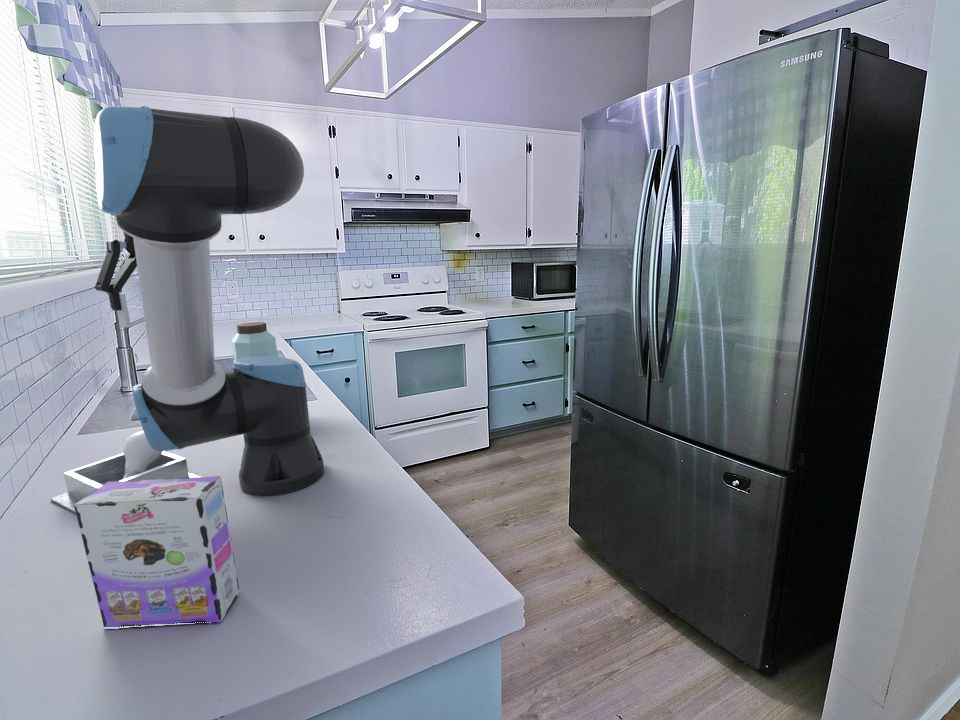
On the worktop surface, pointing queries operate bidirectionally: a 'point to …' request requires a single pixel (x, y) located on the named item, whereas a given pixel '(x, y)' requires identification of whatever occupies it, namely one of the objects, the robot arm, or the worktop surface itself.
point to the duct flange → (116, 476)
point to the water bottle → (253, 341)
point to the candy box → (159, 551)
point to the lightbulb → (138, 454)
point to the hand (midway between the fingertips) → (161, 322)
